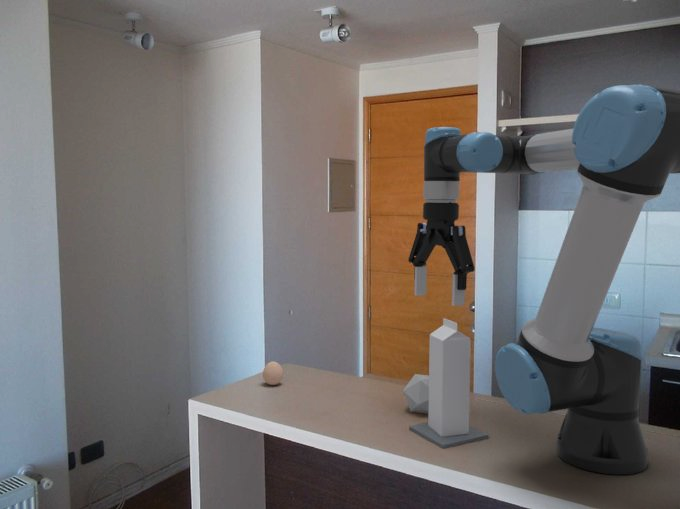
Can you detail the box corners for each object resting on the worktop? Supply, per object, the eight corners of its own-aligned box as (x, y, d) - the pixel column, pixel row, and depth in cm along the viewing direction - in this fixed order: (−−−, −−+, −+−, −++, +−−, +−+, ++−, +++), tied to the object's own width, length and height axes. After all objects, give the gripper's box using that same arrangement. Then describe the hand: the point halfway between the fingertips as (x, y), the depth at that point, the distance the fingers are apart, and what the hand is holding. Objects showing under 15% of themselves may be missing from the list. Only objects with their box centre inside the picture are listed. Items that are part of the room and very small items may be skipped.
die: (449, 411, 136) (431, 371, 140) (452, 403, 129) (432, 361, 133) (415, 425, 136) (398, 385, 140) (416, 418, 128) (398, 376, 132)
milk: (441, 437, 118) (442, 324, 116) (427, 426, 123) (428, 318, 122) (469, 434, 119) (471, 322, 118) (455, 423, 125) (456, 316, 123)
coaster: (488, 437, 119) (488, 434, 119) (443, 448, 114) (443, 445, 114) (452, 420, 129) (452, 417, 129) (409, 429, 123) (409, 426, 123)
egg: (287, 385, 153) (287, 362, 153) (269, 389, 150) (269, 365, 150) (276, 380, 157) (276, 358, 157) (259, 384, 154) (259, 361, 154)
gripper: (494, 202, 121) (490, 308, 123) (421, 200, 143) (419, 290, 145) (464, 202, 118) (461, 311, 120) (394, 200, 140) (392, 292, 142)
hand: (438, 300), depth 133 cm, fingers open, 13 cm apart
